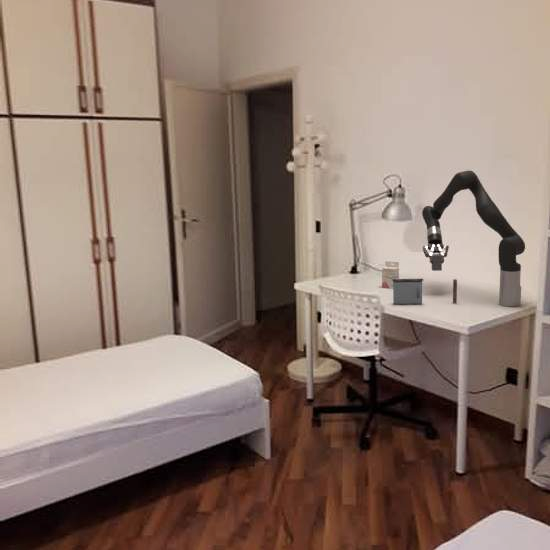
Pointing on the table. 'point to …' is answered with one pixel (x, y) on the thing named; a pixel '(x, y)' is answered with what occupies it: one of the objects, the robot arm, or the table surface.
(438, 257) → the block
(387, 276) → the ink cartridge box
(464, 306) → the table surface
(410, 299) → the grey block
